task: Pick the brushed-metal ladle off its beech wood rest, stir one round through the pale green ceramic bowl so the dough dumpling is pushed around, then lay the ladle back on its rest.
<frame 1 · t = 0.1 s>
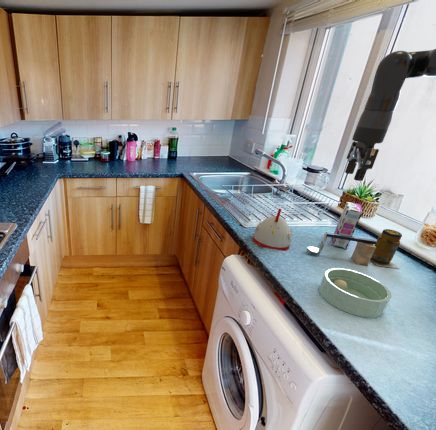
hand: (353, 176, 95), 32 cm above the worktop, tool pointing down, fingers open, 8 cm apart
condiment: (380, 261, 108), on the worktop
ladle: (312, 253, 111), on the worktop, touching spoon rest
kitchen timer: (270, 242, 119), on the worktop
bowl: (348, 300, 87), on the worktop
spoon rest: (358, 262, 107), on the worktop
dumpling: (338, 289, 90), point 1 cm above the worktop, touching bowl
candy bar box: (339, 242, 120), on the worktop
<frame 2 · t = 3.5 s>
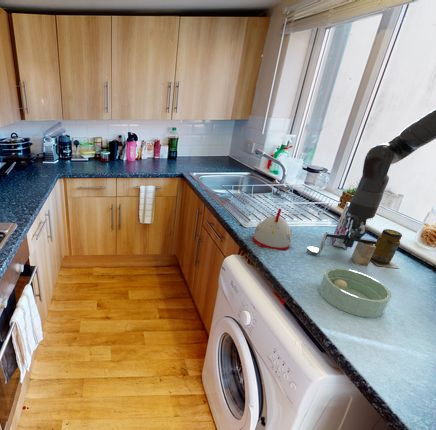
hand: (347, 245, 106), 6 cm above the worktop, tool pointing down, fingers closed on ladle
ladle: (312, 253, 111), on the worktop, touching gripper
everything else where it was.
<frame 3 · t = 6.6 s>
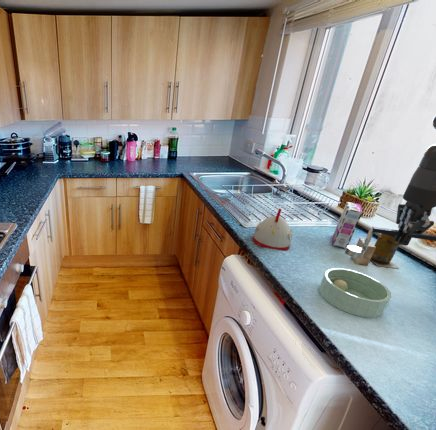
hand: (400, 242, 82), 19 cm above the worktop, tool pointing down, fingers closed on ladle
ladle: (353, 254, 88), point 13 cm above the worktop, touching gripper
everything else where it was.
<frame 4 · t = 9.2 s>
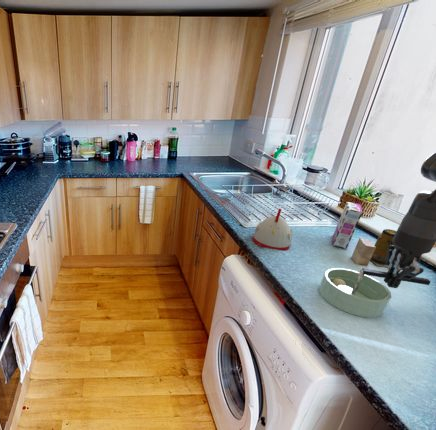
hand: (390, 284, 82), 8 cm above the worktop, tool pointing down, fingers closed on ladle
ladle: (344, 294, 87), point 2 cm above the worktop, touching dumpling, gripper
dumpling: (338, 289, 91), point 1 cm above the worktop, tilted 15°, touching bowl, ladle
everything else where it was.
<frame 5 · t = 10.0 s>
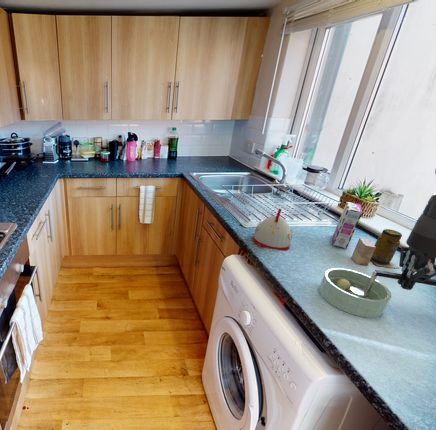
hand: (403, 286, 81), 8 cm above the worktop, tool pointing down, fingers closed on ladle
ladle: (356, 295, 87), point 2 cm above the worktop, touching gripper
dumpling: (342, 288, 91), point 1 cm above the worktop, tilted 12°, touching bowl
everything else where it was.
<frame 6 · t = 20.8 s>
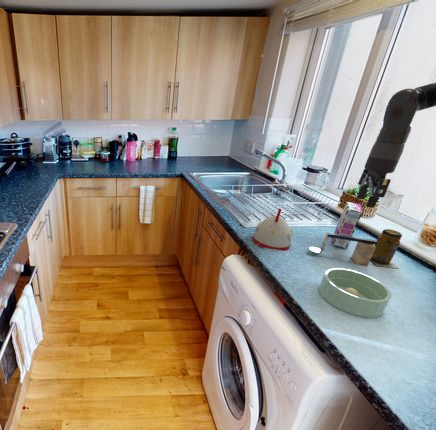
hand: (364, 202, 99), 23 cm above the worktop, tool pointing down, fingers open, 8 cm apart
ladle: (314, 254, 111), on the worktop, touching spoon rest
dumpling: (350, 287, 86), point 4 cm above the worktop, tilted 148°, touching bowl
everything else where it was.
at the end: dumpling moved 4.6 cm from its start; dumpling inside the target area in the bowl (0.9 cm from its centre), point 4.2 cm above the bowl's base; ladle 0.5 cm from the target spot on the worktop beside the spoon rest, on the worktop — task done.
